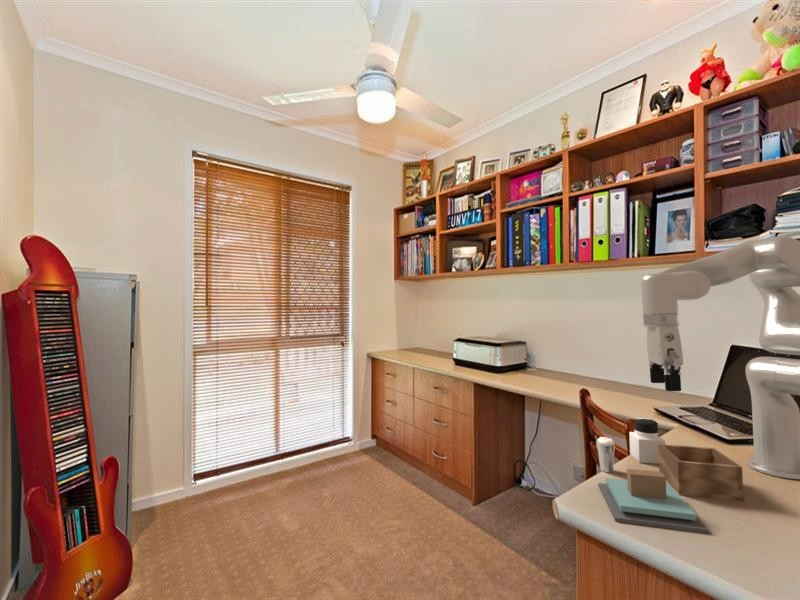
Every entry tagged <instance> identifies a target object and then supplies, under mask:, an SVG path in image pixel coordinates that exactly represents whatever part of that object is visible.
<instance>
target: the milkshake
mask: <svg viewBox="0 0 800 600" xmlns="http://www.w3.org/2000/svg"><path fill="white" fill-rule="evenodd" d="M594 436H595V438H596V439H595V440H596V444H597V453H598V454H597V455H598V460H599V461H598V462H599V469H600V471H601V472H604V473H608V474H609V473H614V471H615V470H614V469H615V468H614V463H615V448H616V447H615V444H616V443H615V441H614V439H612V438H610V437H609V438H608V437H607V436H600V437H598V438H597V436H596V435H594Z"/></svg>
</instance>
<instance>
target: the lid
mask: <svg viewBox="0 0 800 600" xmlns="http://www.w3.org/2000/svg"><path fill="white" fill-rule="evenodd" d="M626 478H627V479H616V478H609V477H607V478H605V484H607V486H608V488H609V489H610V491H611V493H612V495H613V497H614V499H615V501H616V503H617V504H618V506H619V508H620V510H621V511H624V512H632V513H640V514H648V515H656V516H664V517H672V518H680V519H688V520H697V518H696V516H697V514H696V513H695V512H694V510H693V509H692V508H691V506H689V504H687V502H686V501H685V500H684V499H683V498H682V497H681V495H679V494H678V493H677V492H676V491H675V489H674V488H673V487H672V486H671V485H670V484H667V481H666V477H665V476H664V475H663V474H662V473H661V472H659V471H658V470H657V471H656V470H644V469H634V468H633V469H632V468H626Z"/></svg>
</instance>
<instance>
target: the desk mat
mask: <svg viewBox="0 0 800 600" xmlns="http://www.w3.org/2000/svg"><path fill="white" fill-rule="evenodd" d="M597 486H598V488H599V491H600V492H601V495H602V497H603V498H604V501H605V503H606V505H607V507H608V509H609V511H610V513H611V515H612V517H613V519H614V522H618V523H624V524H630V525H631V524H633V525H639V526H640V525H641V526H647V527H655V528H661V529H662V528H663V529H670V530H677V531H687V532H695V533H702V534H708V535H709V534H710V529H709V528H708V527H707V526H706V525H705V523H704V522H703V521H702V520H701V519H700V518H699V517H698V516H697V515H696V518H697V520H688V519H680V518H672V517H664V516H656V515H648V514H640V513H632V512H624V511H621V510H620V508H619V506H618V504H617V503H616V501H615V499H614V497H613V495H612V493H611V491H610V489H609V488H608V486H607V484H606V483H602V482H601V483H600V482H598V483H597Z"/></svg>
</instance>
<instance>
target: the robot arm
mask: <svg viewBox="0 0 800 600" xmlns="http://www.w3.org/2000/svg"><path fill="white" fill-rule="evenodd" d="M747 275H748V277H749V279H750V282H751V283H752V284H753V286H754V287H755V288H756V289H757V290H758V292H759V294H760V295H761V297H762V300H763V303H764V305H763V306H764V309H763V313H762V319H761V325H760V332H759V338H758V339H759V340H758V341H759V346H760V348H762V349H763V350H764V351H767V352H770V353H775V354H782V355H793V356H794V355H795V356H800V294H799V292H797V291H796V290H794V288H796V287H797V288H798V287H800V240H799V239H795V238H793V237H790V236H784V235H781V236H778V235H777V236H773V237H767V238H759V239H754V240H749V241H748V240H747V241H744V242H742V243H738V244H736V245H734V246H731V247H728V248H727V249H725V250H722V251H720V252H717V253H715V254H712V255H709V256H705V257H702V258H698V259H697V260H696V259H695V260H693V261H690V262H687V263H683V264H680V265H677V266H674V267H670V268H668V269H666V270H664V271H661V272H659V273H658V272H657V273H648V274H645V275H643V276H642V277H641V279H640V286H641V301H642V302H641V303H642V304H641V305H642V318H643V319H642V320H643V327H645V328H646V346H647V347H646V349H647V358H648V362H649V377H650V378H649V379H650V383H652V384H664V388H665V391H667V392H681V391H682V379H681V376H682V375H681V374H682V372H681V369H682V368H681V367H682V366H683V365H684V355H683V348H682V340H681V335H680V334H681V333H680V330H679V328H678V327H680V323H679V322H680V321H679V304H678V301H690V300H691V301H694V300H698V299H702V298H703V297H705V296H706V295H708V293H710V290H711V288H712V287H715V286H716V287H717V286H721V285H726V284H730V283H732V282H734V281H736V280H739V279H741V278H743V277H745V276H747ZM744 372H745V376H746V380H747V381H746V382H747V385H748V387H749V391H750V397H751V414H752V415H751V416H752V436H753V437H752V438H753V452H754V453H753V454H754V455H753V457H749V458H748V459H747V465H748V466H749V467H750V468H751V469H753V470H755V471H758V472H760V473H763V474H765V475H770V476H773V477H778V478H781V479H782V478H783V479H789V480H800V408H799V406H798V403H797V402H796V401H795V400H794V398H793V397H792V395H795V396H796V395H797V396H800V359H798V358H796V359H794V358H790V357H789V358H787V357H776V356H758V357H754V358H751V359H750V360H749V361H748V362H747V364H746V365H745V371H744Z"/></svg>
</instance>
